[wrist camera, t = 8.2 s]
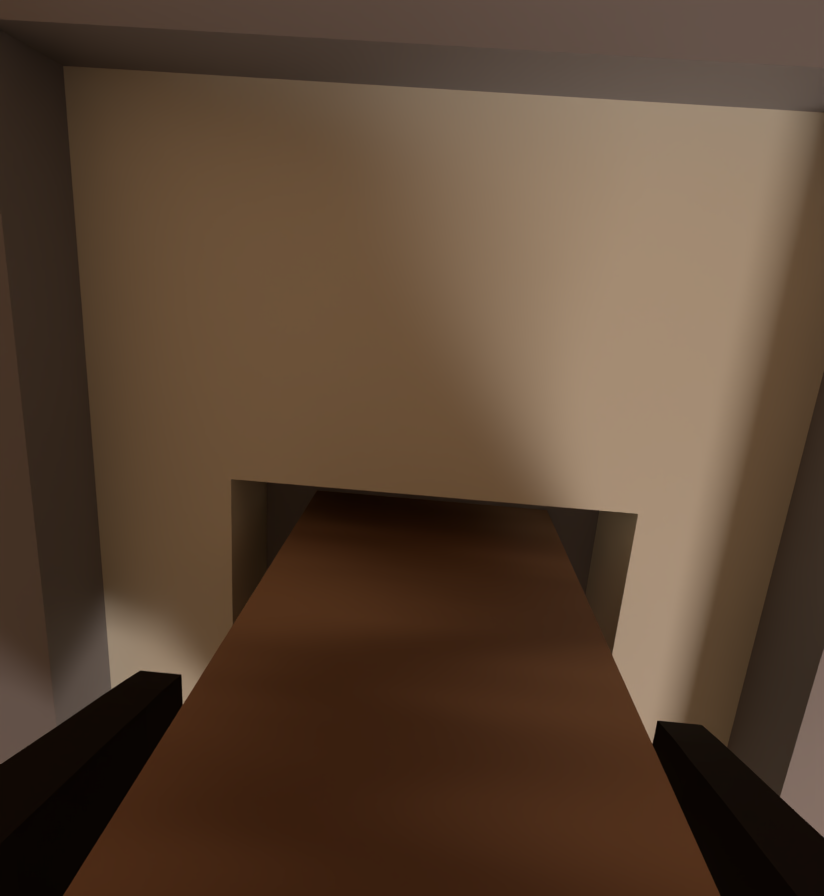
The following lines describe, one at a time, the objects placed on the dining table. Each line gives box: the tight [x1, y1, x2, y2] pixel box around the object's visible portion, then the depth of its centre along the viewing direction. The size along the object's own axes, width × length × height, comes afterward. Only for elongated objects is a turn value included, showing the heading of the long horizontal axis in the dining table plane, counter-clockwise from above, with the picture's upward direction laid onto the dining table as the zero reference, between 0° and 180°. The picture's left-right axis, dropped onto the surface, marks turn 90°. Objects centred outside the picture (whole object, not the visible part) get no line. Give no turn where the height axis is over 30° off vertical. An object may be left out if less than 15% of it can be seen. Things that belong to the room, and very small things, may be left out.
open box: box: [0, 0, 824, 837], centre depth 11 cm, size 13×20×4 cm, turn 176°
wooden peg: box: [63, 490, 720, 896], centre depth 8 cm, size 4×4×9 cm
